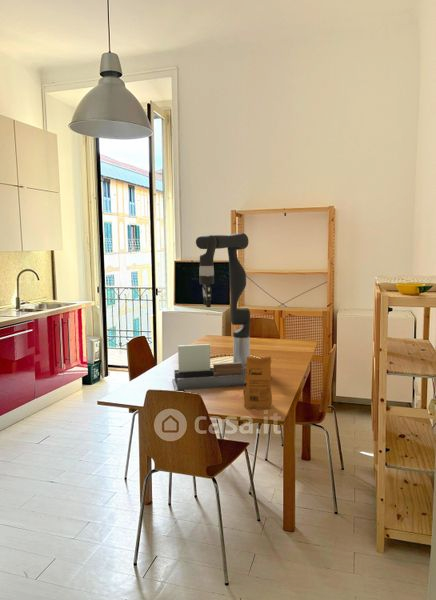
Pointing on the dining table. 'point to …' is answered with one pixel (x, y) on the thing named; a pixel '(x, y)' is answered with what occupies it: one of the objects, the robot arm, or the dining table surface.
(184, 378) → the rack
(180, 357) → the tall sheet
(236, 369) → the offcut bundle
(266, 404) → the coffee package
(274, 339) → the dining table surface
